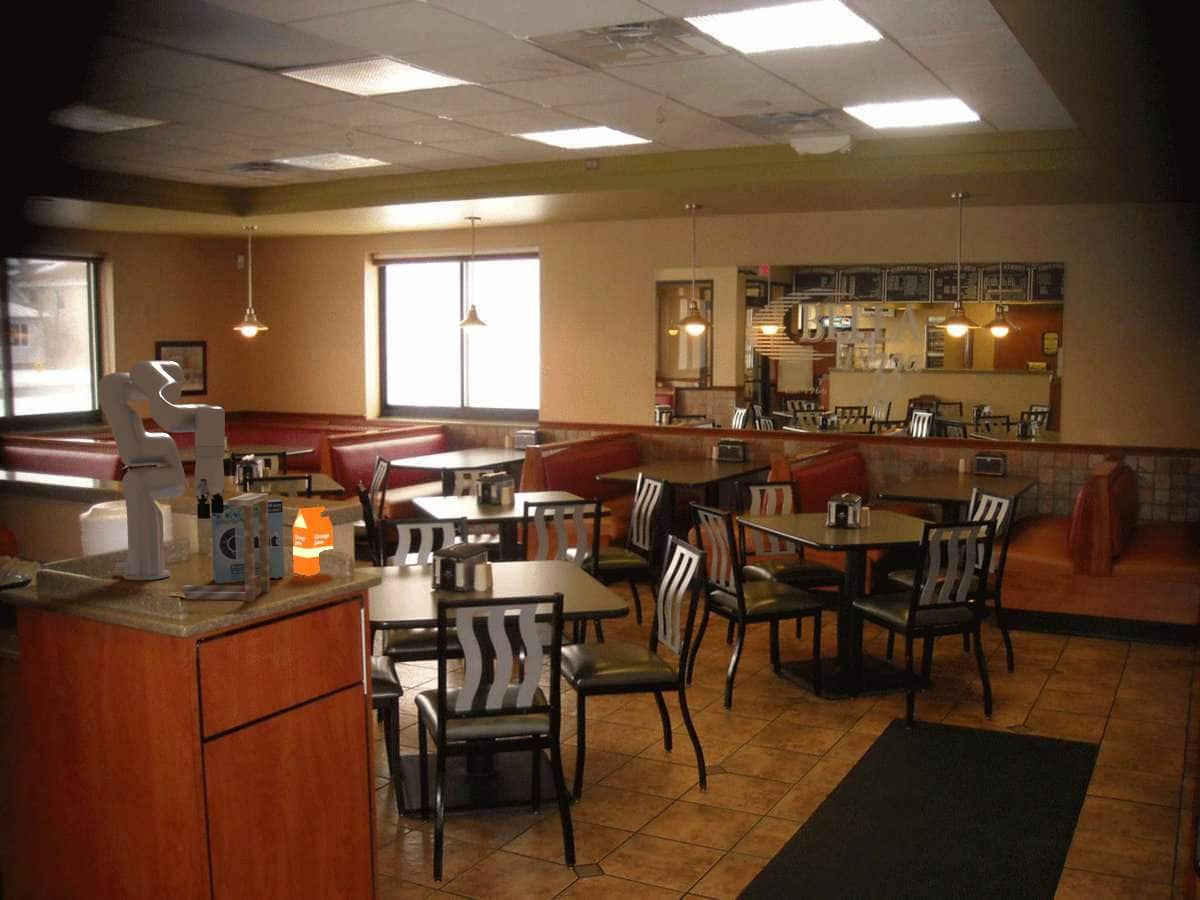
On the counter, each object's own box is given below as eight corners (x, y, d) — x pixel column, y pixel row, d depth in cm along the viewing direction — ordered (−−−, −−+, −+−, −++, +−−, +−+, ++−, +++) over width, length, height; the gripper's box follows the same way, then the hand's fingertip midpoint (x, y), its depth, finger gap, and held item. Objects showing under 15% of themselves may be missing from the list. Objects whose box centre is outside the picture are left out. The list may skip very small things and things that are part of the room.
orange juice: (333, 573, 334) (332, 507, 332) (308, 578, 327) (306, 510, 326) (318, 570, 339) (317, 505, 337) (293, 574, 332) (291, 507, 331)
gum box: (281, 575, 331) (279, 498, 329) (285, 578, 326) (283, 500, 325) (212, 581, 322) (210, 502, 320) (215, 584, 317) (214, 504, 315)
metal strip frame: (165, 601, 294) (162, 499, 292) (188, 589, 309) (185, 493, 307) (252, 601, 294) (250, 499, 292) (270, 590, 309) (268, 493, 307)
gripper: (208, 449, 307) (209, 510, 309) (183, 455, 290) (184, 520, 292) (235, 449, 307) (235, 511, 309) (212, 455, 290) (212, 521, 291)
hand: (210, 515), depth 300 cm, fingers open, 9 cm apart
